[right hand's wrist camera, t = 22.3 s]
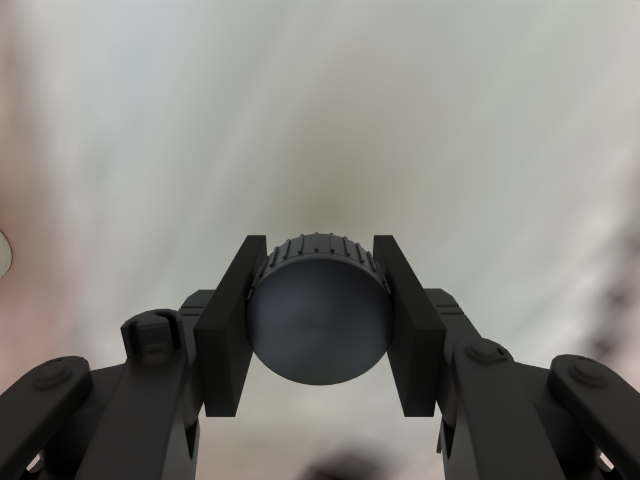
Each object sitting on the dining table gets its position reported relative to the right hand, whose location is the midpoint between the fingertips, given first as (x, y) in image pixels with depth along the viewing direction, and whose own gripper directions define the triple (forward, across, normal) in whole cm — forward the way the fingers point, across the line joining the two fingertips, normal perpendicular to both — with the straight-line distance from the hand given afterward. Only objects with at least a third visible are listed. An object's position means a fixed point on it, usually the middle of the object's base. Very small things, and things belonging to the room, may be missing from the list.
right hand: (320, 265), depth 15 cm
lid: (-4, 0, 0) cm, 4 cm away
